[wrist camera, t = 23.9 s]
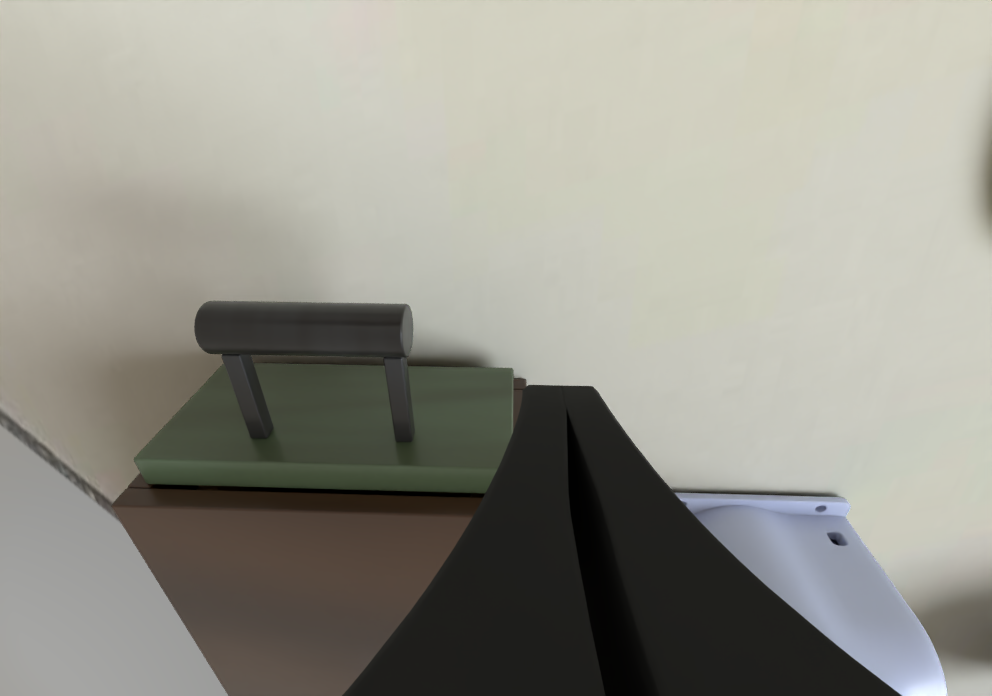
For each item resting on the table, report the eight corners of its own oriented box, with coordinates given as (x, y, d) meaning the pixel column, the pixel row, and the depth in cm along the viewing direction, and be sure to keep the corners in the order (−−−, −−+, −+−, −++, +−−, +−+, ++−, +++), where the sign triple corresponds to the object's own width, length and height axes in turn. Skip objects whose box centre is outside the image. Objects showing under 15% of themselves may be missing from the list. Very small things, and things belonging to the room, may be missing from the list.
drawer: (184, 249, 18) (58, 323, 13) (515, 253, 18) (516, 332, 13) (289, 546, 27) (239, 656, 22) (509, 553, 27) (507, 666, 22)
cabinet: (229, 372, 22) (109, 505, 15) (526, 378, 22) (530, 518, 15) (294, 557, 29) (231, 701, 23) (518, 564, 29) (519, 713, 22)
